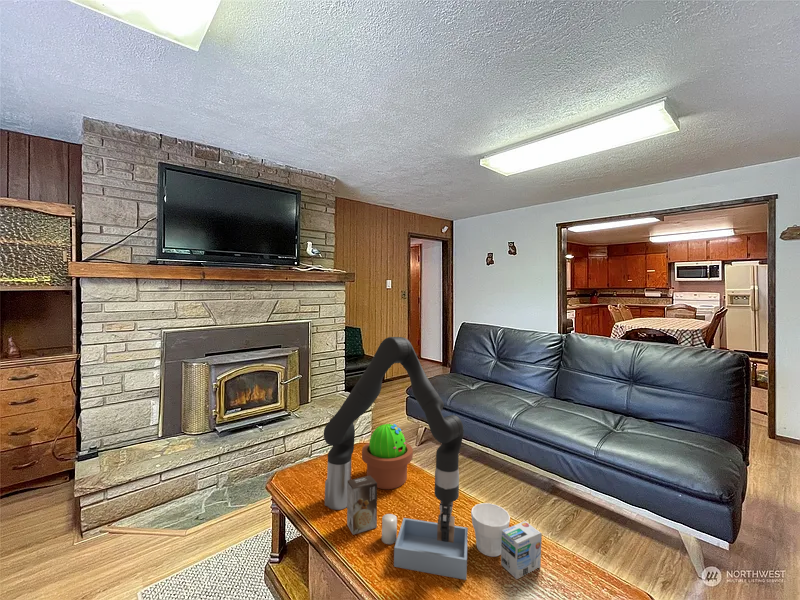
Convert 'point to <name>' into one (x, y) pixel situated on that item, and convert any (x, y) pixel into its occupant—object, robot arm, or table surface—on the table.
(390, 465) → the potted cactus
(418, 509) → the table surface
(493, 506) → the cup
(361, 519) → the coffee box
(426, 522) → the tote
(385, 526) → the white rounded cylinder
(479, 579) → the table surface
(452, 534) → the cube
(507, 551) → the light bulb box
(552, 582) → the table surface
